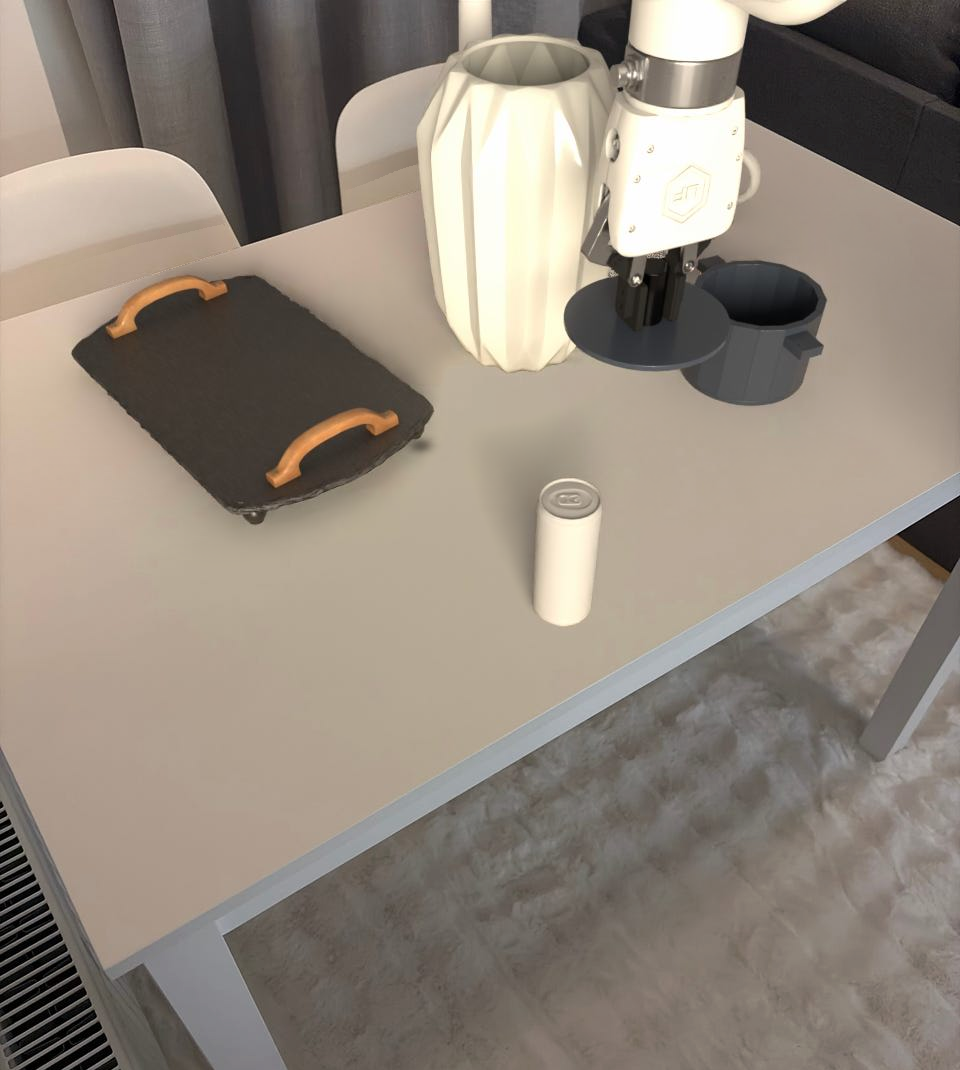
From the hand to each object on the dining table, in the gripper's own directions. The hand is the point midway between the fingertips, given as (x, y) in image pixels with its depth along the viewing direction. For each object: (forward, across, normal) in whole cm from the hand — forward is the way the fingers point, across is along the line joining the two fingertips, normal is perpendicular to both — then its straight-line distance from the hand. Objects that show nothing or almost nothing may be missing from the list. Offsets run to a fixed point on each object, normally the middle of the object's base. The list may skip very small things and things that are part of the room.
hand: (646, 315), depth 78 cm
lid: (+1, 0, 0) cm, 1 cm away
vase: (+15, -1, +22) cm, 27 cm away
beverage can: (+15, -14, -14) cm, 25 cm away
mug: (+15, +33, +39) cm, 53 cm away
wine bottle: (+15, +2, +40) cm, 43 cm away
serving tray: (+15, -30, +24) cm, 41 cm away
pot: (+15, +18, +8) cm, 25 cm away
